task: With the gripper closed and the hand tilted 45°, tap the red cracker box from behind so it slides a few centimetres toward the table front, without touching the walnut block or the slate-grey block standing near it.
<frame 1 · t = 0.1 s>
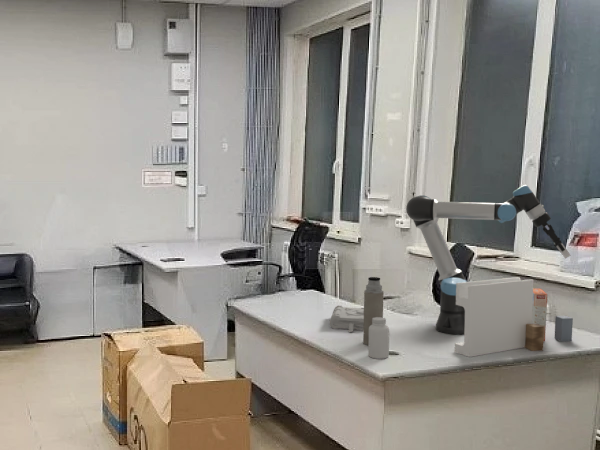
hand: (566, 255, 275), 36 cm above the table, tool tilted 35°, fingers open, 13 cm apart
block: (493, 349, 251), on the table
thermos bottle: (372, 344, 257), on the table
pill bottle: (378, 356, 239), on the table
slate block: (563, 339, 267), on the table
cracker box: (535, 337, 271), on the table
walnut block: (534, 349, 252), on the table
gray tool case: (351, 326, 288), on the table
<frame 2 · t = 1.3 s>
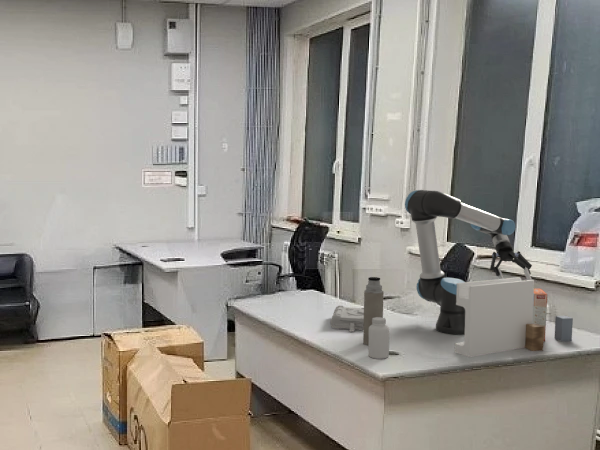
hand: (516, 280, 287), 22 cm above the table, tool tilted 45°, fingers open, 13 cm apart
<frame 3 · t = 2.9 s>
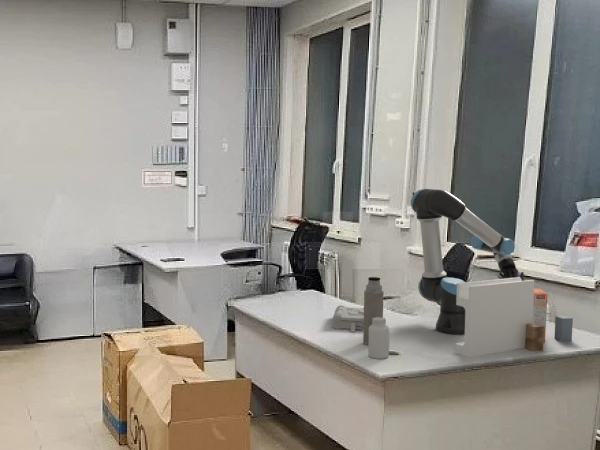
hand: (522, 303, 284), 12 cm above the table, tool tilted 45°, fingers closed
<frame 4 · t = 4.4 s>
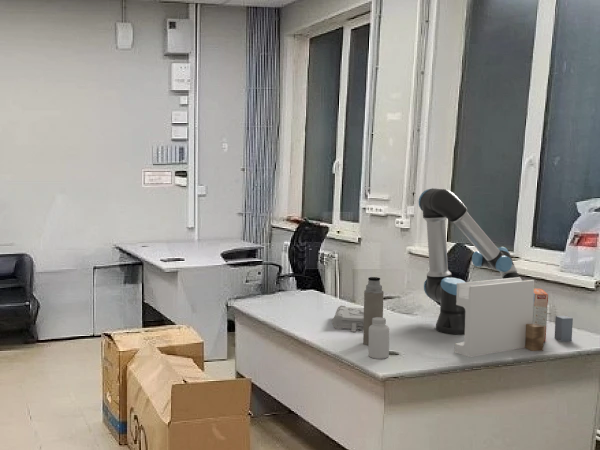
hand: (527, 318, 278), 6 cm above the table, tool tilted 45°, fingers closed
cracker box: (536, 337, 270), on the table, touching gripper
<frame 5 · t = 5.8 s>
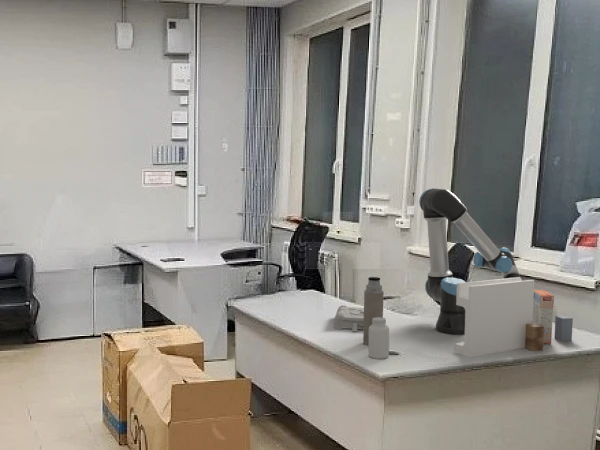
hand: (527, 319, 277), 6 cm above the table, tool tilted 45°, fingers closed
cracker box: (540, 340, 267), on the table
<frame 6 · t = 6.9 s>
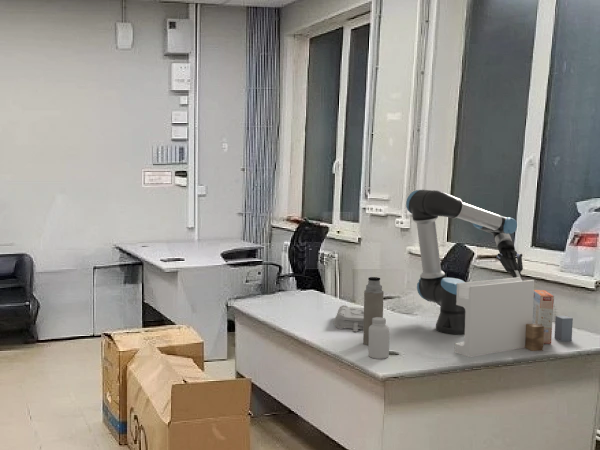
hand: (519, 283, 285), 21 cm above the table, tool tilted 45°, fingers closed
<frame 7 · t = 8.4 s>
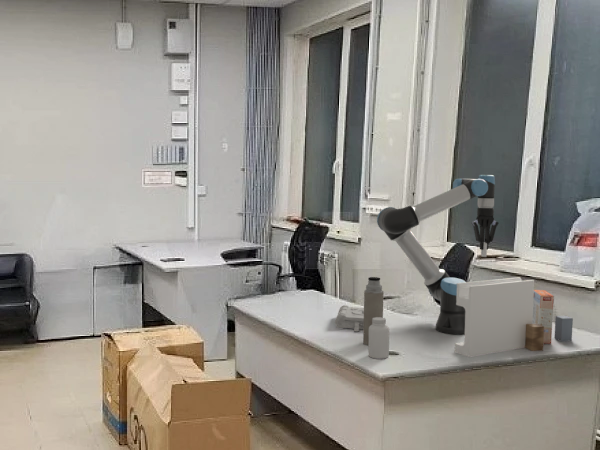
hand: (483, 256, 293), 32 cm above the table, tool pointing down, fingers closed
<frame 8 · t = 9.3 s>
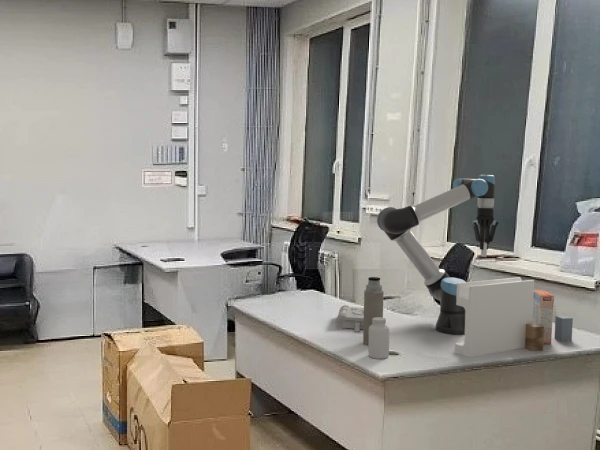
hand: (483, 256, 293), 32 cm above the table, tool pointing down, fingers closed
at the end: cracker box 1.0 cm from the target spot, on the table; walnut block moved 0.2 cm from its start; slate block moved 0.0 cm from its start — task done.
